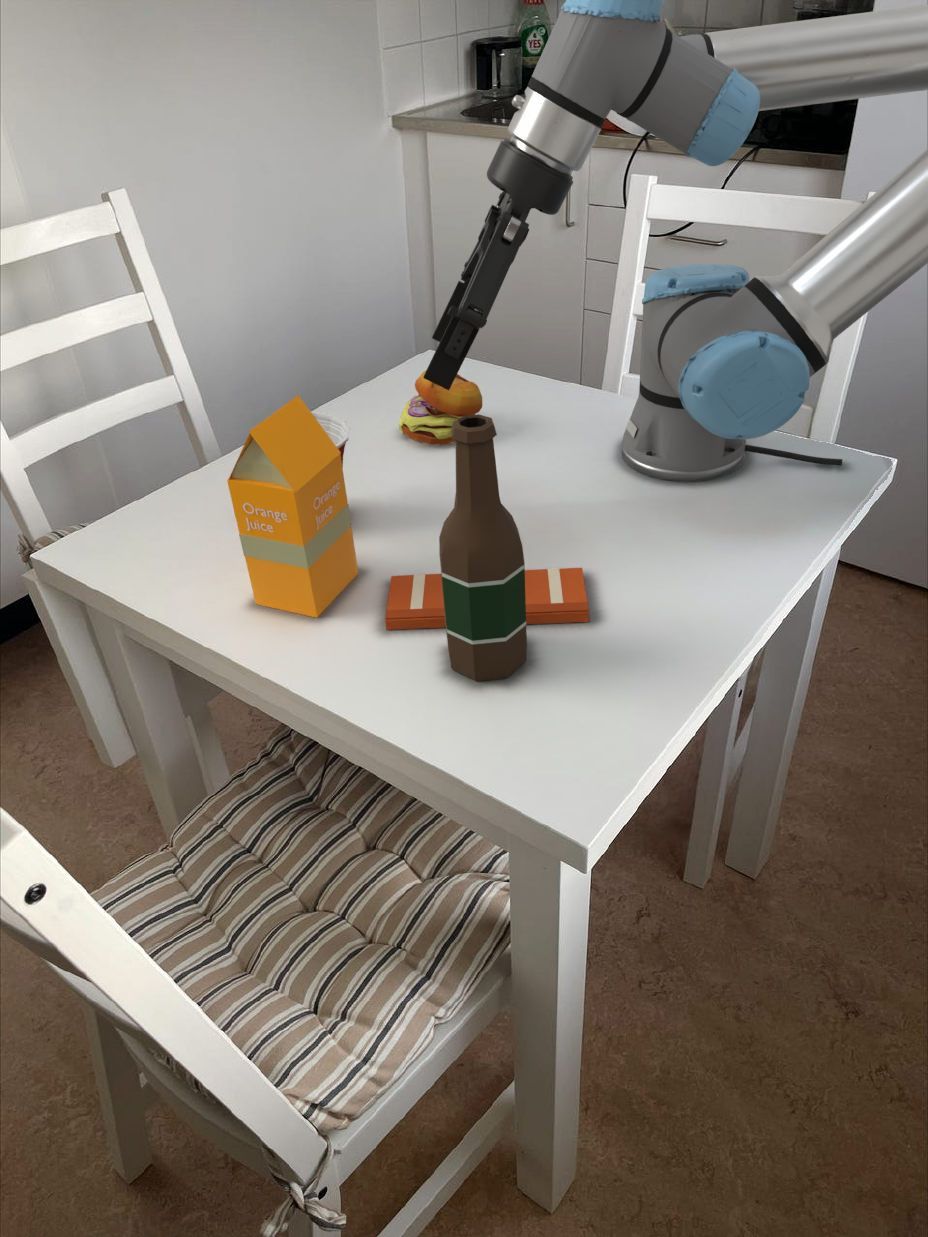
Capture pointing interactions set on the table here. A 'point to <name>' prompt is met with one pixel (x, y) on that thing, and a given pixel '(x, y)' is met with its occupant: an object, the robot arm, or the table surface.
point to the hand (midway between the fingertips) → (439, 362)
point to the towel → (545, 594)
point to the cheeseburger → (438, 409)
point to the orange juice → (293, 513)
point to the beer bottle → (482, 563)
